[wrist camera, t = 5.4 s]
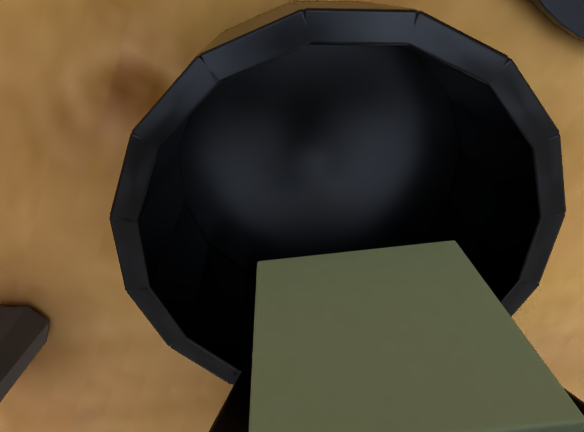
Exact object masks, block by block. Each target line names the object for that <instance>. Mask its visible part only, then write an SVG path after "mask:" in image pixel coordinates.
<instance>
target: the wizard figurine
mask: <svg viewBox="0 0 584 432" xmlns="http://www.w3.org/2000/svg"><path fill="white" fill-rule="evenodd" d="M48 328H49V321H48V320H46V319H45V318H43V317H42V316H41V315H39V314H38V313H36V312H35V311H33V310H32V309H30V308H29V307H28V306H24V307H11V306H6V305H0V402H1V400H2V399H3V398H4V396H5V395H6V394H7V393H8V391H9V390H10V389H11V387H12V386H13V385H14V383H15V382H16V381H17V379H18V378H19V377H20V375H21V374H22V373H23V371H24V370H25V369H26V367H27V366H28V365H29V363H30V362H31V361H32V360H33V358H34V357H35V356H36V354H37V353H38V352H39V350H40V349H41V348H42V346H43V345H44V344H45V342H46V341H47V335H48Z"/></svg>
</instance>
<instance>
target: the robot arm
mask: <svg viewBox="0 0 584 432" xmlns="http://www.w3.org/2000/svg"><path fill="white" fill-rule="evenodd" d="M251 375H252V355H251V356H250V357H249V359H248V360H247V362H246V364H245V366H244V368H243V370H242V371H241V373H240V375H239V377H238V379H237V381H236V382H235V384H234V386H233V388H232V390H231V392H230V393H229V395H228V397H227V399H226V401H225V403H224V405H223V406H222V408H221V410H220V412H219V414H218V416H217V417H216V419H215V421H214V423H213V425H212V427H211V428H210V430H209V432H249V415H250V395H251ZM564 390H565V391H566V392H567V394H568V395H569V397H570V398H571V399H572V401H573V402H574V403H575V405H576V406H577V407H578V409H579V410H580V412H581V413H582V414H583V416H584V402H583V401H581V400H580V399H579V398H577V397H576V396H574V395H573V394H572V393H570V392H569V391H567V390H566V389H565V388H564ZM583 432H584V431H583Z"/></svg>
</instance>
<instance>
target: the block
mask: <svg viewBox="0 0 584 432" xmlns="http://www.w3.org/2000/svg"><path fill="white" fill-rule="evenodd" d="M583 431H584V416H583V414H582V413H581V412H580V410H579V409H578V407H577V406H576V405H575V403H574V402H573V401H572V399H571V398H570V397H569V395H568V394H567V392H566V391H565V390H564V388H563V387H562V386H561V384H560V383H559V382H558V380H557V379H556V377H555V376H554V375H553V373H552V372H551V371H550V369H549V368H548V367H547V365H546V364H545V363H544V361H543V360H542V358H541V357H540V356H539V354H538V353H537V352H536V350H535V349H534V348H533V346H532V345H531V343H530V342H529V341H528V339H527V338H526V337H525V335H524V334H523V333H522V331H521V330H520V328H519V327H518V326H517V324H516V323H515V322H514V320H513V319H512V318H511V316H510V315H509V313H508V312H507V311H506V309H505V308H504V307H503V305H502V304H501V303H500V301H499V300H498V299H497V297H496V296H495V294H494V293H493V292H492V290H491V289H490V288H489V286H488V285H487V284H486V282H485V281H484V279H483V278H482V277H481V275H480V274H479V273H478V271H477V270H476V269H475V267H474V266H473V264H472V263H471V262H470V260H469V259H468V258H467V256H466V255H465V254H464V252H463V251H462V249H461V248H460V247H459V245H458V244H457V243H456V241H454V240H451V241H442V242H433V243H424V244H414V245H405V246H396V247H386V248H377V249H368V250H359V251H349V252H340V253H331V254H321V255H312V256H303V257H294V258H284V259H275V260H266V261H259V262H257V275H256V295H255V315H254V335H253V355H252V375H251V395H250V415H249V432H583Z"/></svg>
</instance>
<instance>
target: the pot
mask: <svg viewBox="0 0 584 432" xmlns="http://www.w3.org/2000/svg"><path fill="white" fill-rule="evenodd" d="M565 212H566V205H565V192H564V180H563V167H562V154H561V141H560V134H559V130H558V129H557V127H556V126H555V124H554V123H553V121H552V119H551V118H550V116H549V115H548V113H547V112H546V110H545V109H544V107H543V106H542V104H541V103H540V101H539V100H538V98H537V97H536V95H535V94H534V92H533V91H532V89H531V88H530V86H529V85H528V83H527V82H526V80H525V79H524V77H523V76H522V74H521V72H520V71H519V69H518V68H517V66H516V65H515V63H514V62H513V60H512V59H510V58H508V56H507V55H505V54H503V53H501V52H499V51H497V50H495V49H493V48H492V47H490V46H488V45H486V44H484V43H482V42H480V41H478V40H476V39H474V38H472V37H470V36H468V35H467V34H465V33H463V32H461V31H459V30H457V29H455V28H453V27H451V26H449V25H447V24H445V23H443V22H442V21H440V20H438V19H436V18H434V17H432V16H430V15H428V14H426V13H424V12H422V11H418V10H415V9H409V8H403V7H396V6H389V5H382V4H376V3H369V2H337V1H293V2H288V3H286V4H284V5H281V6H279V7H277V8H275V9H272V10H270V11H268V12H266V13H263V14H260V15H258V16H256V17H254V18H252V19H250V20H248V21H246V22H243V23H241V24H239V25H237V26H234V27H232V28H230V29H228V30H226V31H224V32H223V33H221V34H220V35H219V36H218V37H217V38H216V39H215V40H214V41H213V42H211V43H210V44H209V45H208V46H207V47H206V48H205V49H204V50H203V51H202V52H201V53H200V54H198V55H197V56H196V57H195V59H194V60H193V61H192V62H191V63H190V64H189V66H188V67H187V68H186V69H185V70H184V71H183V72H182V74H181V75H180V76H179V77H178V78H177V79H176V81H175V82H174V83H173V84H172V85H171V86H170V87H169V89H168V90H167V91H166V92H165V93H164V94H163V95H162V97H161V98H160V99H159V100H158V101H157V102H156V104H155V105H154V106H153V107H152V108H151V109H150V110H149V112H148V113H147V114H146V115H145V116H144V117H143V118H142V120H141V121H140V122H139V123H138V124H137V125H136V127H135V128H134V129H133V130H132V133H131V134H130V138H129V142H128V146H127V150H126V154H125V158H124V162H123V165H122V169H121V173H120V177H119V181H118V185H117V189H116V193H115V197H114V200H113V204H112V208H111V212H110V222H111V227H112V231H113V236H114V240H115V245H116V249H117V254H118V258H119V262H120V267H121V271H122V276H123V280H124V285H125V289H126V291H127V293H128V294H129V295H130V297H131V298H132V299H133V301H134V302H135V303H136V304H137V306H138V307H139V308H140V310H141V311H142V312H143V314H144V315H145V316H146V318H147V319H148V320H149V321H150V323H151V324H152V325H153V327H154V328H155V329H156V331H157V332H158V333H159V335H160V336H161V337H162V338H163V340H164V341H165V342H166V344H167V345H168V346H170V347H171V348H172V349H174V350H175V351H177V352H178V353H180V354H182V355H183V356H185V357H187V358H188V359H190V360H191V361H193V362H195V363H196V364H198V365H200V366H201V367H203V368H204V369H206V370H208V371H209V372H211V373H213V374H214V375H216V376H217V377H219V378H221V379H222V380H224V381H226V382H228V383H229V384H233V385H234V384H235V382H236V381H237V379H238V377H239V375H240V373H241V371H242V370H243V368H244V366H245V364H246V362H247V360H248V359H249V357H250V356H251V355H253V335H254V315H255V295H256V275H257V262H259V261H266V260H275V259H284V258H294V257H303V256H312V255H321V254H331V253H340V252H349V251H359V250H368V249H377V248H386V247H396V246H405V245H414V244H424V243H433V242H442V241H451V240H454V241H456V243H457V244H458V245H459V247H460V248H461V249H462V251H463V252H464V254H465V255H466V256H467V258H468V259H469V260H470V262H471V263H472V264H473V266H474V267H475V269H476V270H477V271H478V273H479V274H480V275H481V277H482V278H483V279H484V281H485V282H486V284H487V285H488V286H489V288H490V289H491V290H492V292H493V293H494V294H495V296H496V297H497V299H498V300H499V301H500V303H501V304H502V305H503V307H504V308H505V309H506V311H507V312H508V313H509V315H510V316H512V315H513V314H514V313H515V312H516V311H517V310H518V308H519V307H520V306H521V305H522V304H523V303H524V302H525V300H526V299H527V298H528V297H529V296H530V295H531V294H532V292H533V291H534V290H535V289H536V288H537V287H538V286H539V284H538V283H539V282H540V280H541V278H542V275H543V272H544V270H545V267H546V264H547V262H548V259H549V256H550V254H551V251H552V249H553V246H554V243H555V241H556V238H557V235H558V233H559V230H560V227H561V225H562V222H563V219H564V217H565Z"/></svg>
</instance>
